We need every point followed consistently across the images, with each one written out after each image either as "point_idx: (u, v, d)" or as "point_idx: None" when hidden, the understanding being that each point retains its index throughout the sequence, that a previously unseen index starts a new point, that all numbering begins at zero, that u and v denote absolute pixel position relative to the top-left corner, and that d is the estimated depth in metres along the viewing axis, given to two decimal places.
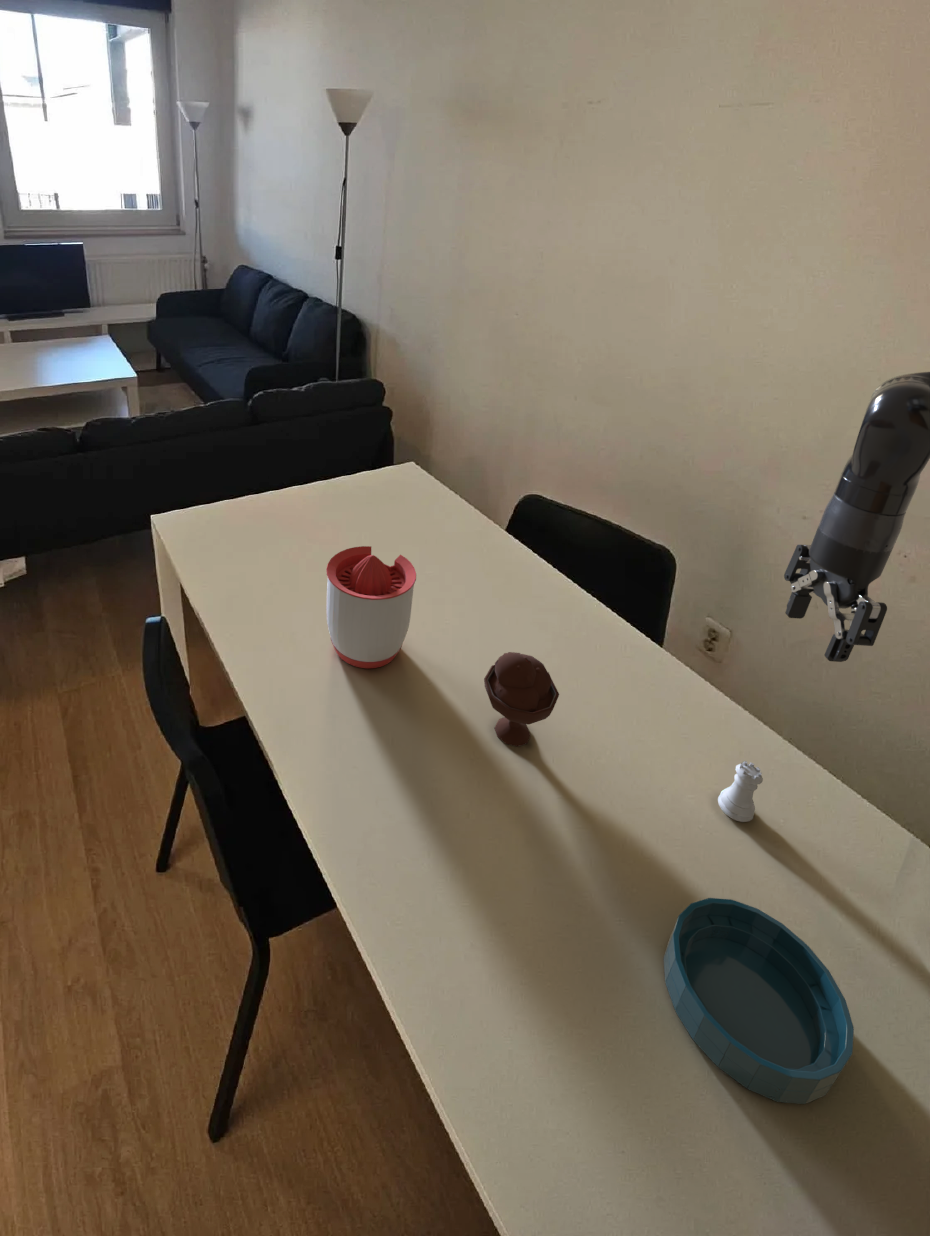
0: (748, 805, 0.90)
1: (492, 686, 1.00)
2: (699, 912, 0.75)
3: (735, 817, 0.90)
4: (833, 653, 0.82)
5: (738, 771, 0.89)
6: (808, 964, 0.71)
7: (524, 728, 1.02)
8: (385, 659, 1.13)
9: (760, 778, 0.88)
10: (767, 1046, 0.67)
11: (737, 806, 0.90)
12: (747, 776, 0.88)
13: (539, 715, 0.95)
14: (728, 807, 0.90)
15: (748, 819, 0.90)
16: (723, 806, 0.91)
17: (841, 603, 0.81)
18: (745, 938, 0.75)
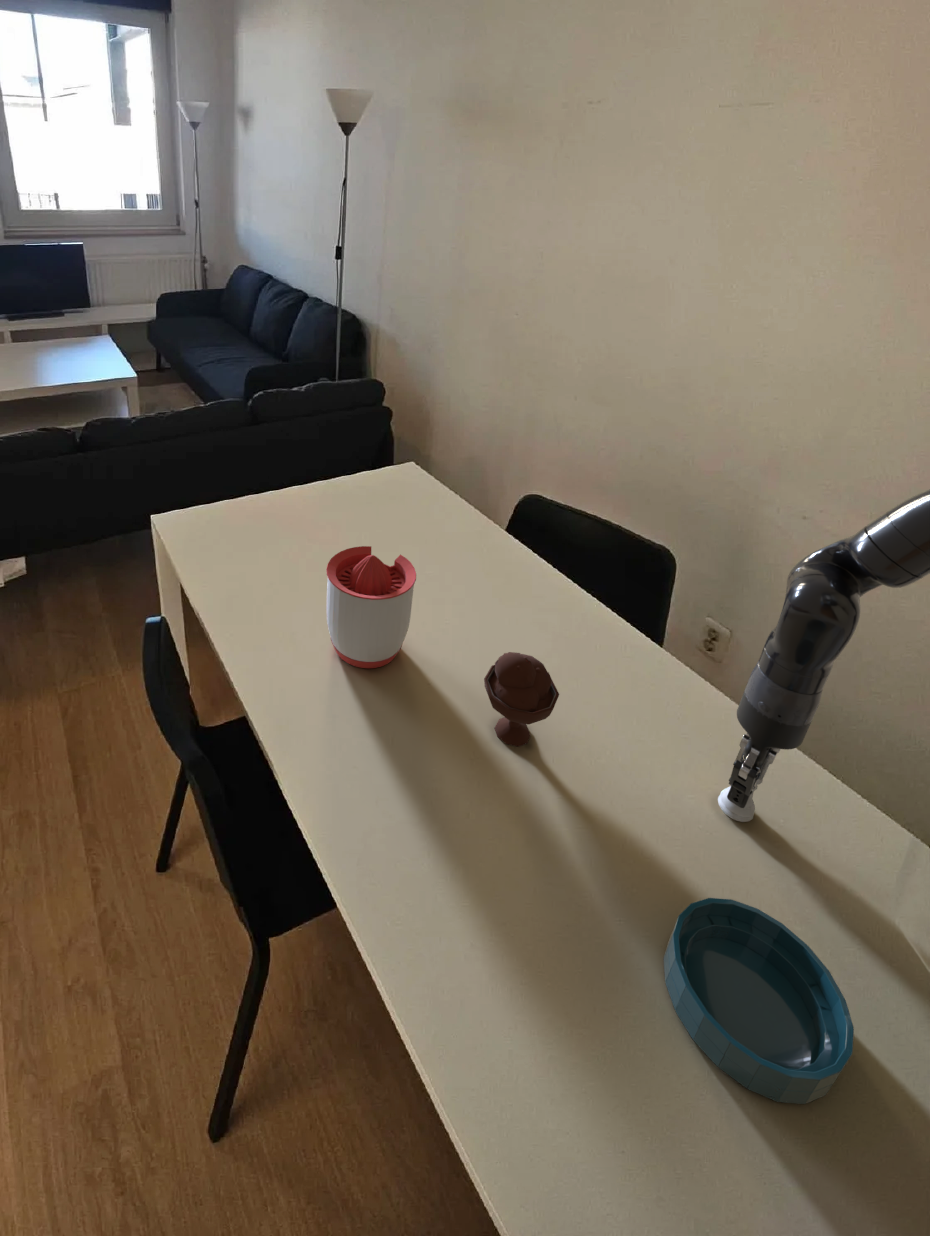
0: (748, 806, 0.90)
1: (492, 686, 1.00)
2: (699, 912, 0.75)
3: (735, 817, 0.90)
4: None
5: None
6: (808, 964, 0.71)
7: (524, 728, 1.02)
8: (385, 659, 1.13)
9: None
10: (767, 1046, 0.67)
11: (737, 806, 0.90)
12: None
13: (539, 715, 0.95)
14: (728, 807, 0.90)
15: (748, 819, 0.90)
16: (723, 806, 0.91)
17: (745, 756, 0.86)
18: (745, 938, 0.75)
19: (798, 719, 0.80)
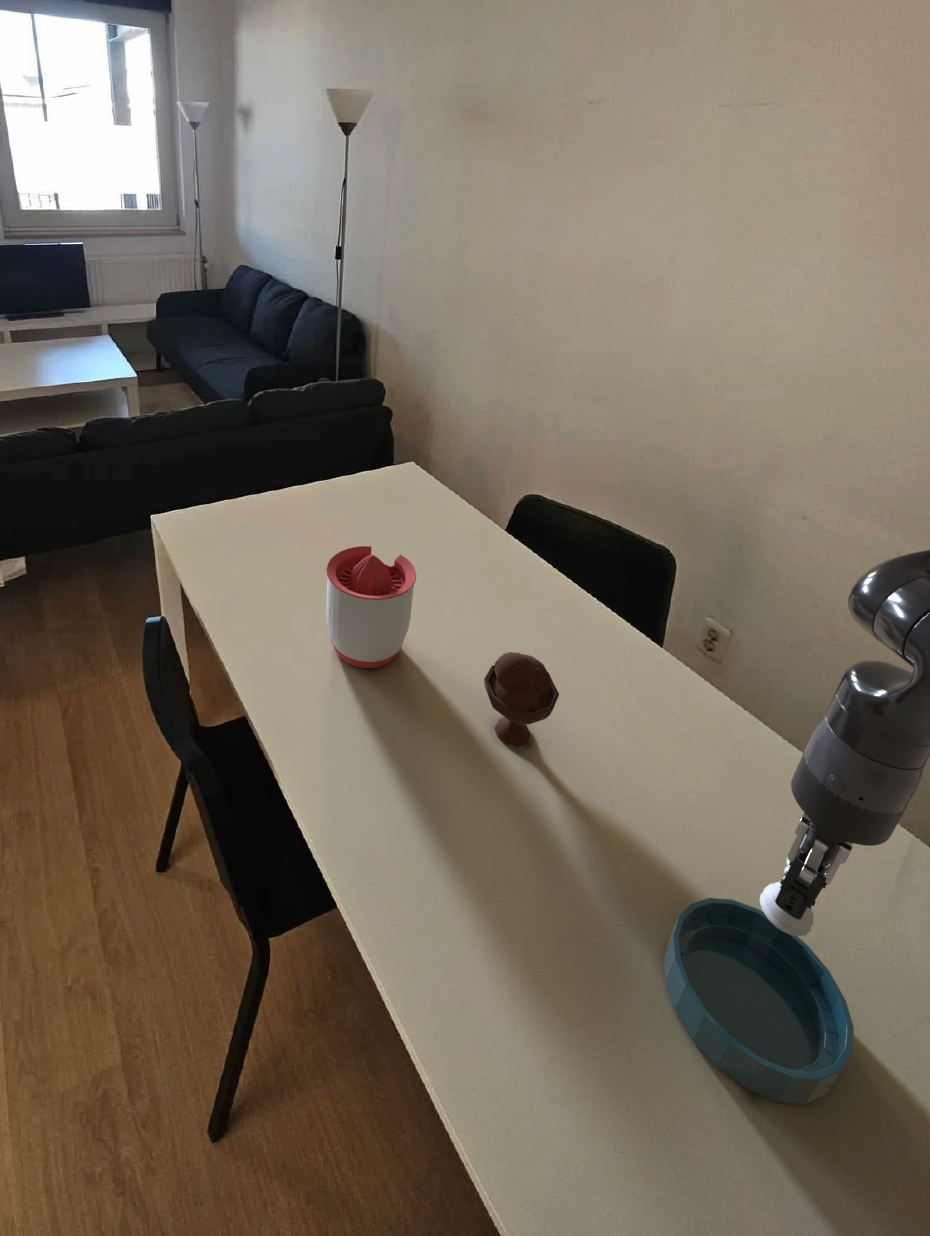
0: (805, 914, 0.63)
1: (492, 686, 1.00)
2: (699, 912, 0.75)
3: (786, 929, 0.64)
4: (782, 898, 0.63)
5: None
6: (808, 964, 0.71)
7: (524, 728, 1.02)
8: (385, 659, 1.13)
9: None
10: (767, 1046, 0.67)
11: (789, 914, 0.63)
12: None
13: (539, 715, 0.95)
14: (776, 914, 0.64)
15: (804, 932, 0.64)
16: (768, 911, 0.65)
17: (804, 850, 0.60)
18: (745, 938, 0.75)
19: (890, 804, 0.54)
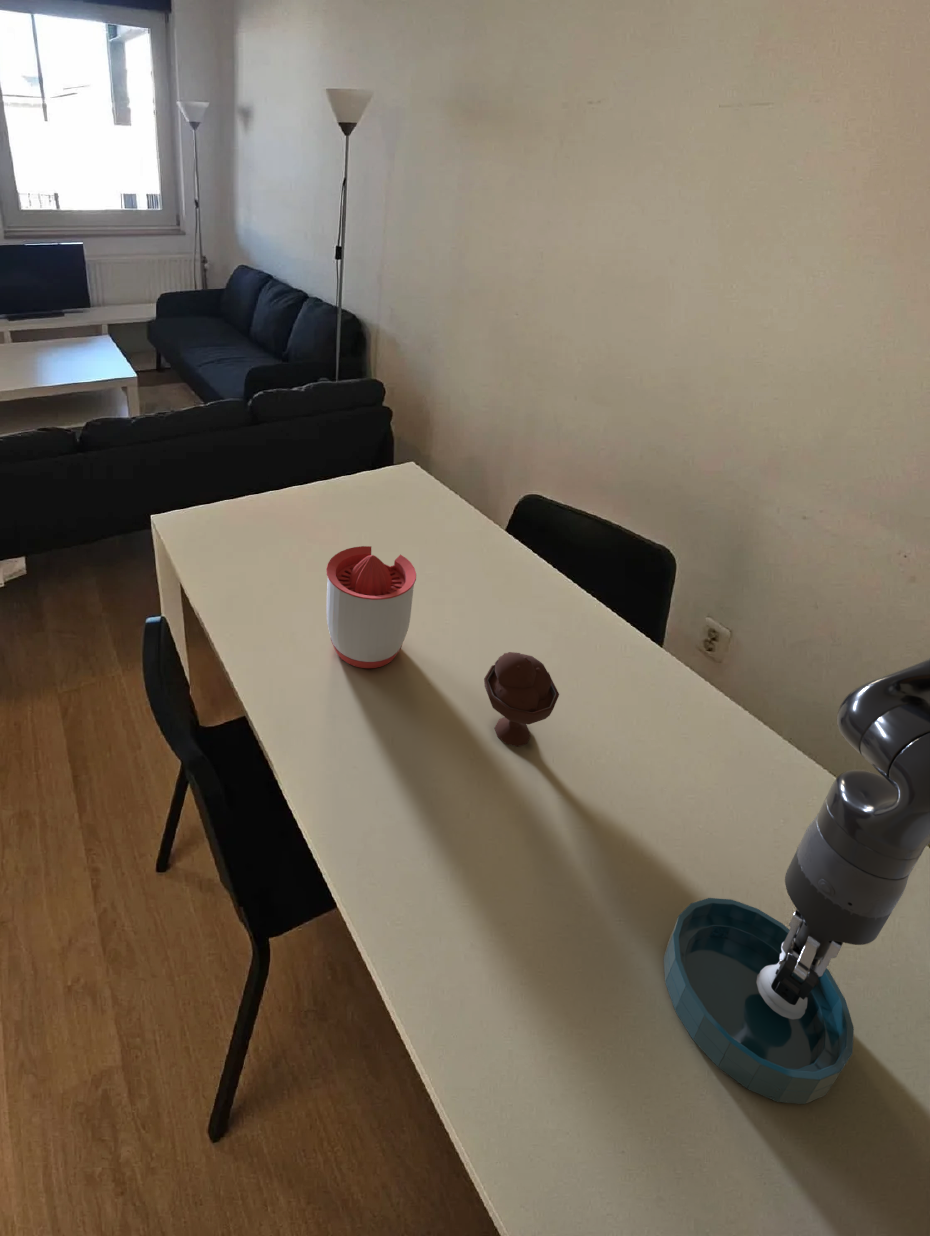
0: (799, 998, 0.67)
1: (492, 686, 1.00)
2: (699, 912, 0.75)
3: (781, 1012, 0.67)
4: (777, 984, 0.67)
5: None
6: None
7: (524, 728, 1.02)
8: (385, 659, 1.13)
9: None
10: (767, 1046, 0.67)
11: None
12: None
13: (539, 715, 0.95)
14: (772, 998, 0.68)
15: (799, 1015, 0.67)
16: (764, 994, 0.69)
17: (797, 943, 0.63)
18: (745, 938, 0.75)
19: (877, 910, 0.57)
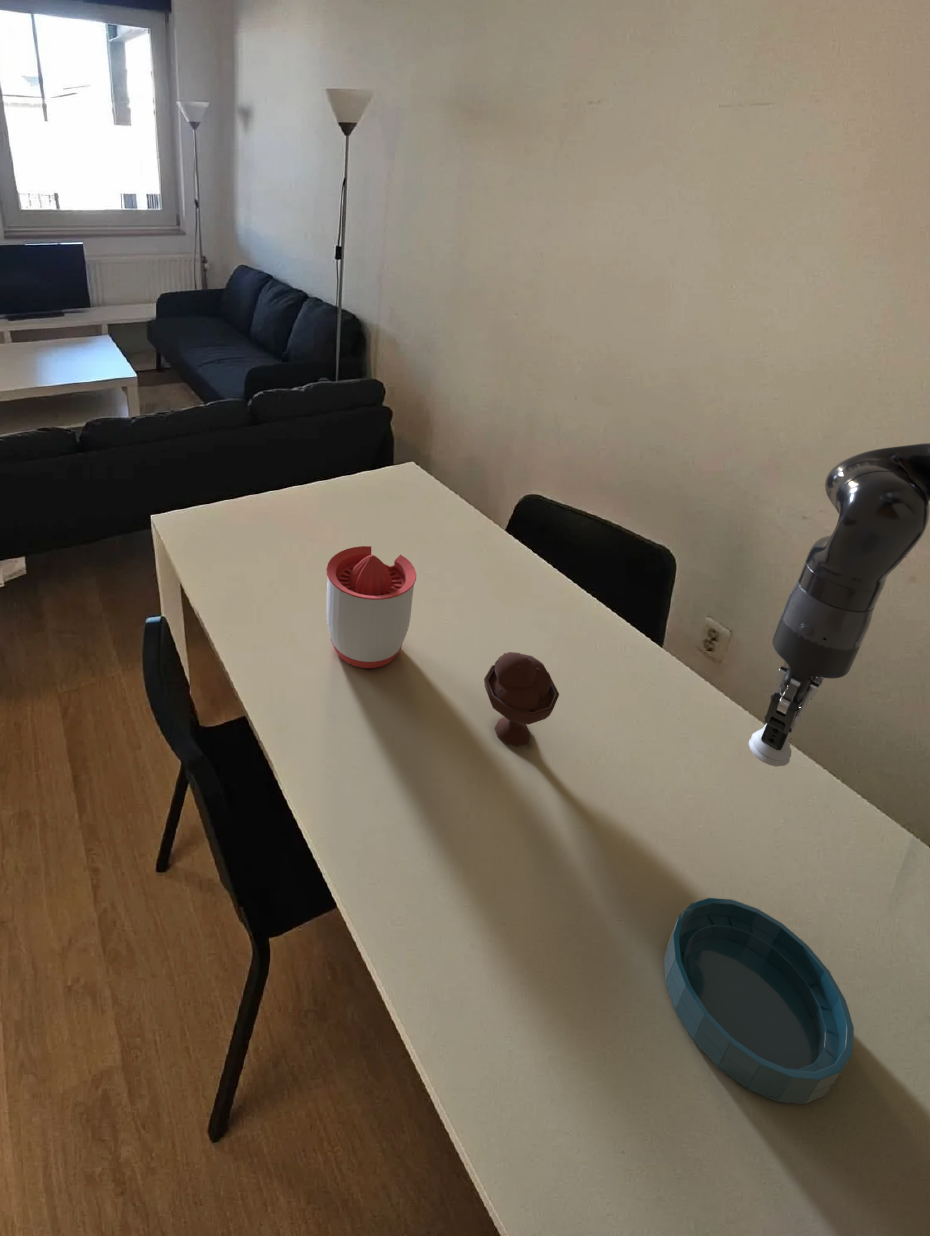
0: (784, 748, 0.80)
1: (492, 686, 1.00)
2: (699, 912, 0.75)
3: (769, 761, 0.80)
4: None
5: None
6: (808, 964, 0.71)
7: (524, 728, 1.02)
8: (385, 659, 1.13)
9: (798, 716, 0.78)
10: (767, 1046, 0.67)
11: (772, 749, 0.80)
12: None
13: (539, 715, 0.95)
14: (761, 750, 0.80)
15: (784, 763, 0.80)
16: (755, 750, 0.81)
17: (782, 690, 0.76)
18: (745, 938, 0.75)
19: (846, 641, 0.70)
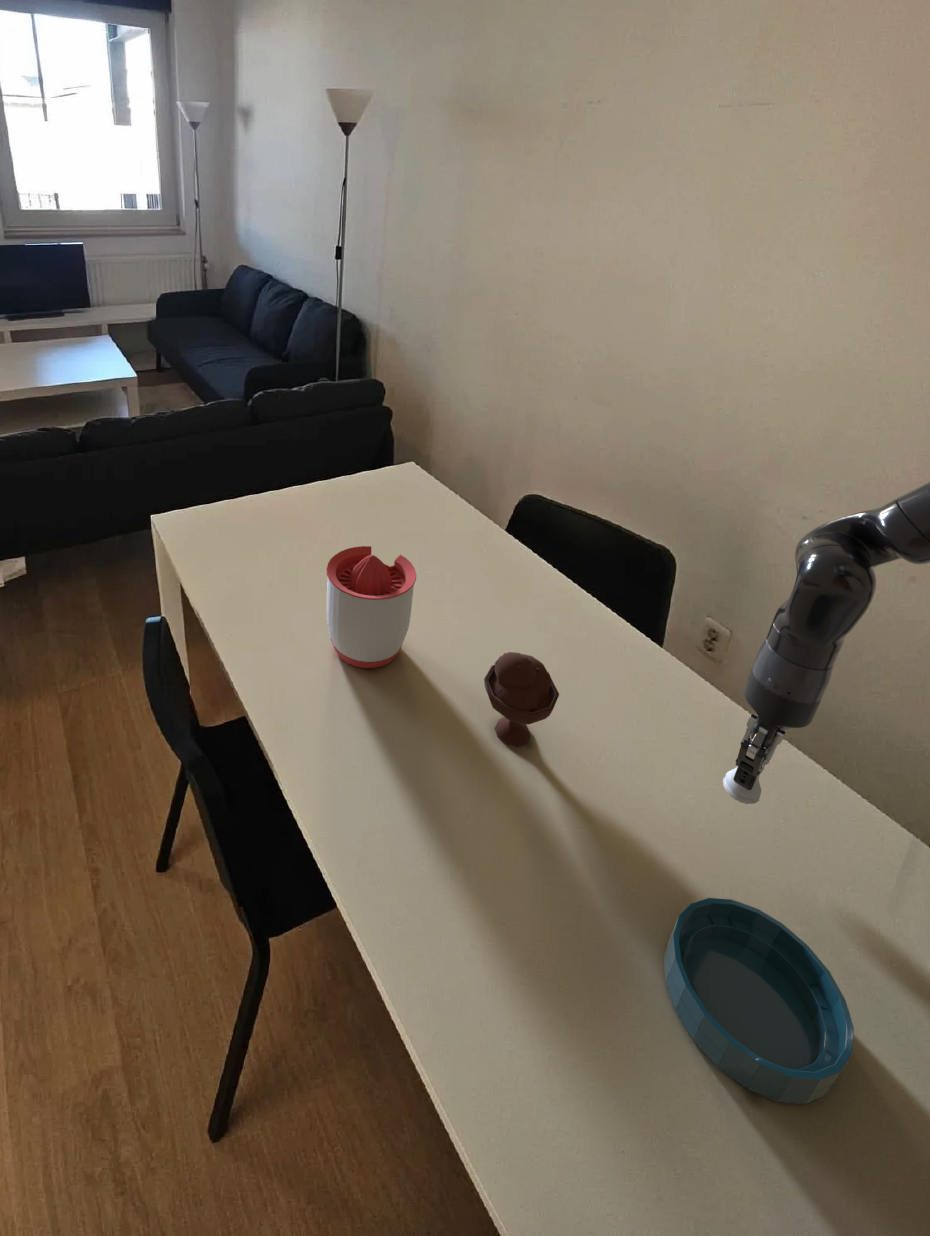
0: (754, 787, 0.87)
1: (492, 686, 1.00)
2: (699, 912, 0.75)
3: (741, 799, 0.87)
4: (738, 776, 0.86)
5: None
6: (808, 964, 0.71)
7: (524, 728, 1.02)
8: (385, 659, 1.13)
9: None
10: (767, 1046, 0.67)
11: (743, 788, 0.87)
12: None
13: (539, 715, 0.95)
14: (733, 789, 0.88)
15: (754, 801, 0.87)
16: (728, 788, 0.89)
17: (752, 736, 0.83)
18: (745, 938, 0.75)
19: (808, 696, 0.77)
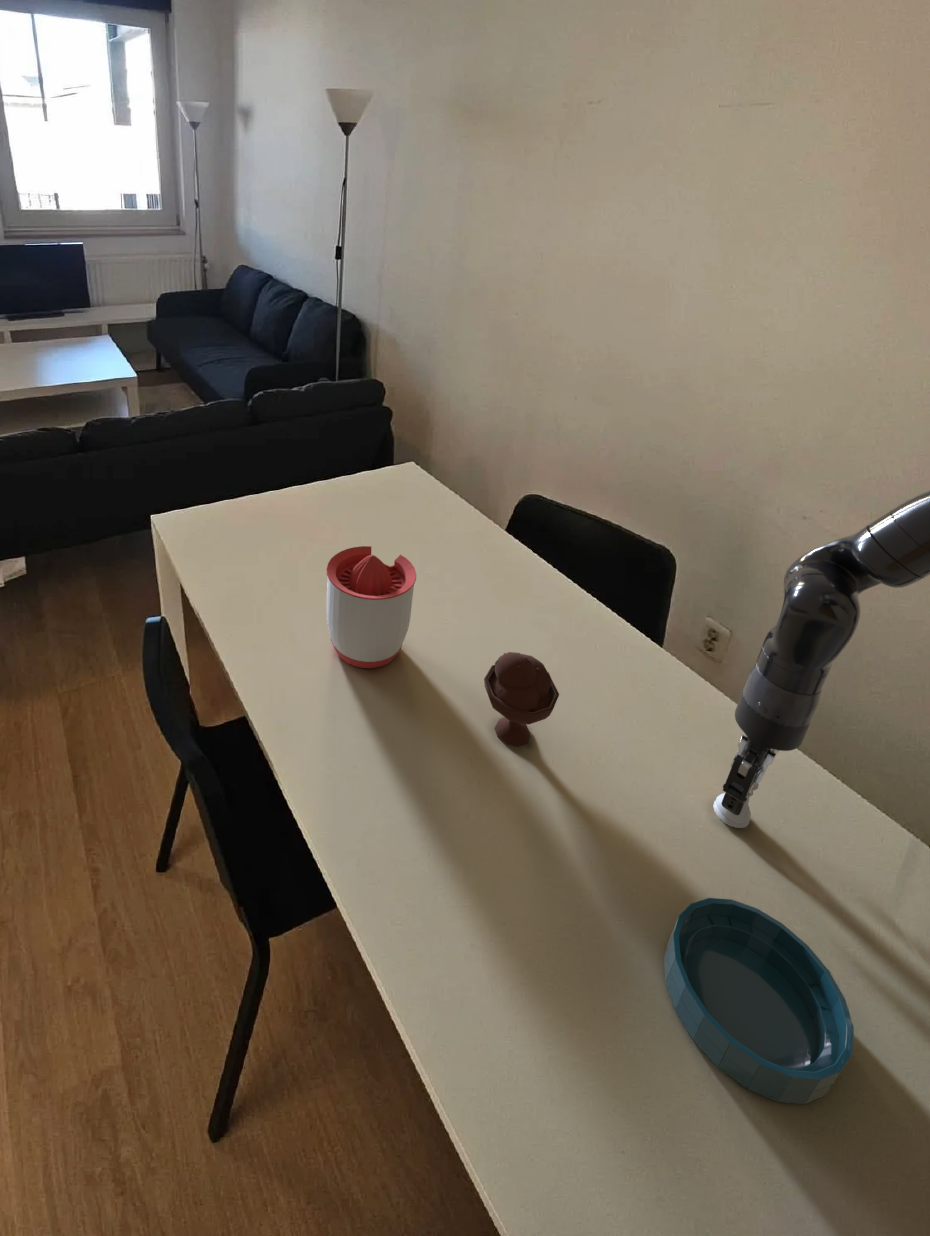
0: (744, 811, 0.89)
1: (492, 686, 1.00)
2: (699, 912, 0.75)
3: (731, 823, 0.89)
4: (726, 801, 0.86)
5: None
6: (808, 964, 0.71)
7: (524, 728, 1.02)
8: (385, 659, 1.13)
9: (756, 784, 0.87)
10: (767, 1046, 0.67)
11: None
12: None
13: (539, 715, 0.95)
14: (724, 813, 0.90)
15: (744, 825, 0.89)
16: (719, 812, 0.91)
17: (743, 758, 0.85)
18: (745, 938, 0.75)
19: (797, 720, 0.79)
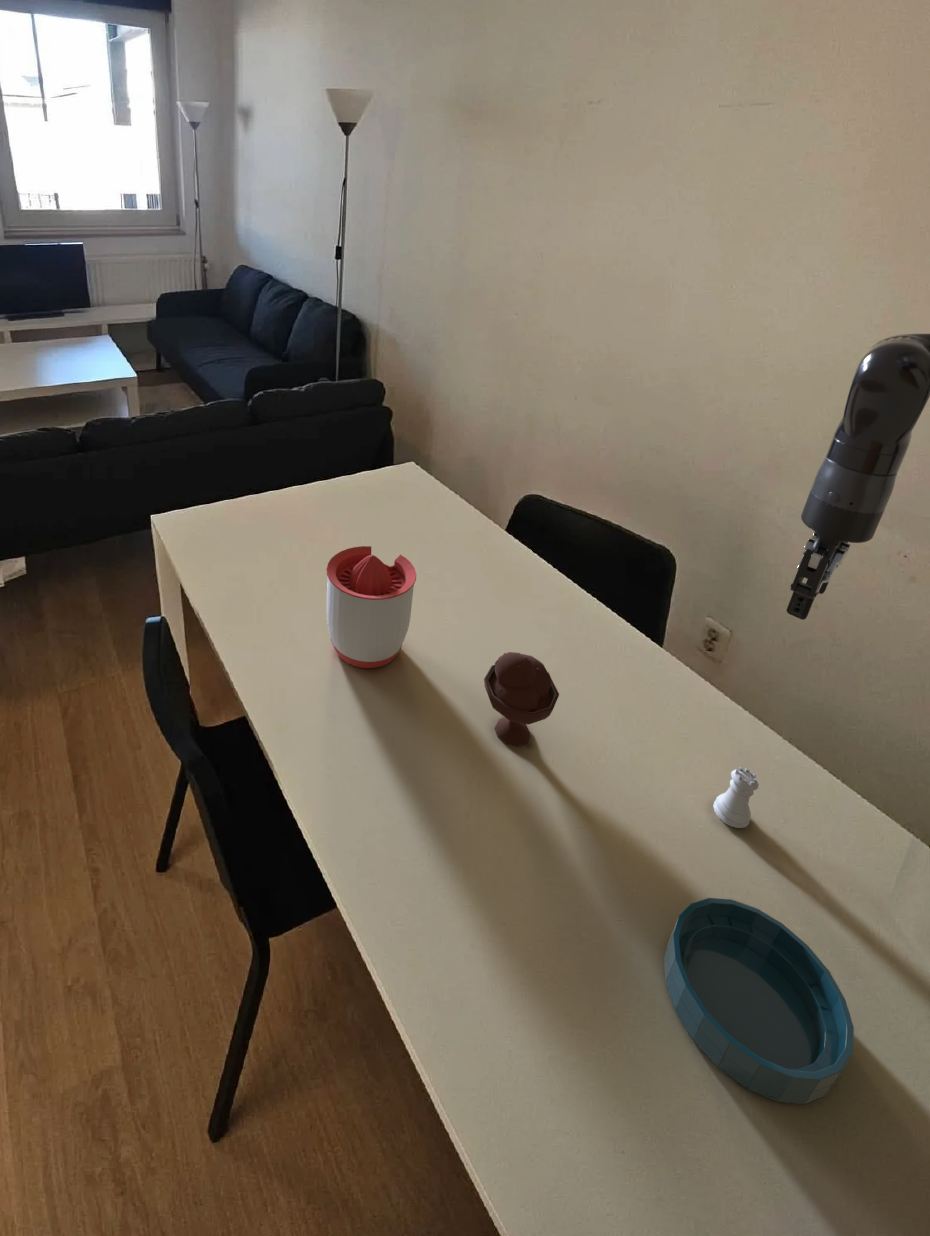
0: (744, 811, 0.89)
1: (492, 686, 1.00)
2: (699, 912, 0.75)
3: (731, 823, 0.89)
4: (791, 606, 0.84)
5: (733, 777, 0.88)
6: (808, 964, 0.71)
7: (524, 728, 1.02)
8: (385, 659, 1.13)
9: (756, 784, 0.87)
10: (767, 1046, 0.67)
11: (733, 812, 0.89)
12: (742, 782, 0.87)
13: (539, 715, 0.95)
14: (724, 813, 0.90)
15: (744, 825, 0.89)
16: (719, 812, 0.91)
17: None
18: (745, 938, 0.75)
19: (871, 505, 0.77)
